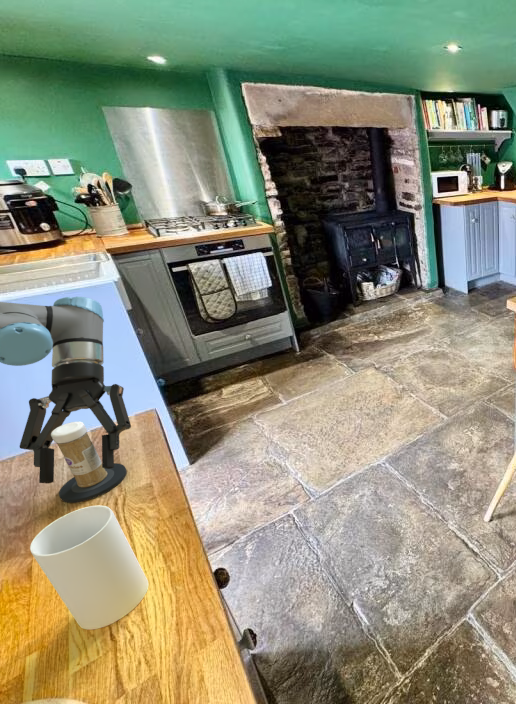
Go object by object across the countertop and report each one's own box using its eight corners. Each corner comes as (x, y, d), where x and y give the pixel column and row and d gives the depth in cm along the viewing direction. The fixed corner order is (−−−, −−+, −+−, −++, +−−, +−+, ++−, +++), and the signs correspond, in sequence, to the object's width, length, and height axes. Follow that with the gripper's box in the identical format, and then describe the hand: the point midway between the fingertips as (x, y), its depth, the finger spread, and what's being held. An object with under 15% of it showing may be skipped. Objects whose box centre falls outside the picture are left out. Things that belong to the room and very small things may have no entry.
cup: (65, 639, 58) (14, 565, 52) (92, 586, 65) (50, 515, 59) (137, 616, 61) (97, 543, 55) (156, 567, 68) (122, 498, 62)
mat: (45, 502, 79) (43, 498, 79) (94, 465, 89) (92, 462, 88) (95, 503, 79) (93, 500, 79) (139, 466, 88) (138, 463, 88)
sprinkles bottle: (71, 488, 81) (42, 435, 76) (92, 471, 86) (66, 420, 80) (95, 488, 82) (67, 435, 76) (114, 471, 86) (90, 420, 80)
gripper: (149, 361, 93) (154, 459, 87) (20, 382, 84) (15, 493, 78) (134, 351, 87) (138, 456, 80) (-7, 372, 78) (-15, 493, 71)
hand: (78, 474), depth 79 cm, fingers open, 8 cm apart
